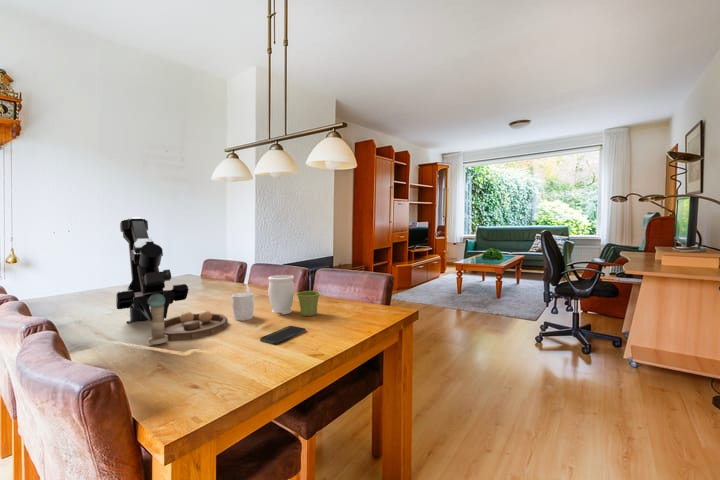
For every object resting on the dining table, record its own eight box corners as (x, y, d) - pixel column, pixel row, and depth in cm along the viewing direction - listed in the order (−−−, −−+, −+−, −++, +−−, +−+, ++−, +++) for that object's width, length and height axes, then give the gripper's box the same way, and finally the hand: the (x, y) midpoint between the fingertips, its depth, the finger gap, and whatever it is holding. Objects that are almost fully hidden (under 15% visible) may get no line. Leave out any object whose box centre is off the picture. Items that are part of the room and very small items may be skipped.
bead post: (144, 343, 100) (142, 294, 99) (159, 337, 105) (157, 291, 104) (157, 345, 98) (155, 296, 97) (171, 339, 103) (170, 292, 102)
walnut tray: (137, 338, 110) (137, 329, 109) (192, 318, 131) (192, 311, 131) (191, 346, 102) (190, 336, 102) (240, 324, 123) (239, 316, 123)
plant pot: (292, 314, 137) (292, 293, 136) (312, 309, 143) (312, 289, 142) (304, 319, 130) (304, 297, 129) (325, 314, 136) (324, 293, 135)
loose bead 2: (196, 323, 121) (195, 311, 121) (205, 320, 125) (205, 308, 125) (205, 325, 120) (205, 312, 119) (214, 321, 124) (214, 309, 123)
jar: (271, 309, 144) (270, 274, 143) (295, 308, 145) (295, 274, 144) (266, 316, 134) (265, 279, 133) (292, 315, 134) (292, 278, 133)
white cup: (247, 323, 124) (246, 297, 123) (228, 322, 126) (227, 296, 125) (258, 317, 132) (257, 292, 131) (240, 316, 133) (239, 291, 133)
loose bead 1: (177, 324, 120) (176, 312, 120) (187, 321, 124) (186, 309, 124) (186, 326, 118) (186, 313, 118) (196, 322, 123) (196, 310, 122)
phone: (258, 338, 107) (290, 325, 120) (258, 342, 107) (290, 328, 120) (277, 342, 103) (307, 328, 116) (277, 346, 103) (307, 331, 116)
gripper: (115, 264, 97) (121, 310, 89) (186, 259, 109) (196, 298, 101) (113, 287, 103) (119, 331, 96) (180, 279, 115) (190, 318, 108)
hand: (158, 319), depth 100 cm, fingers closed on bead post, 3 cm apart
